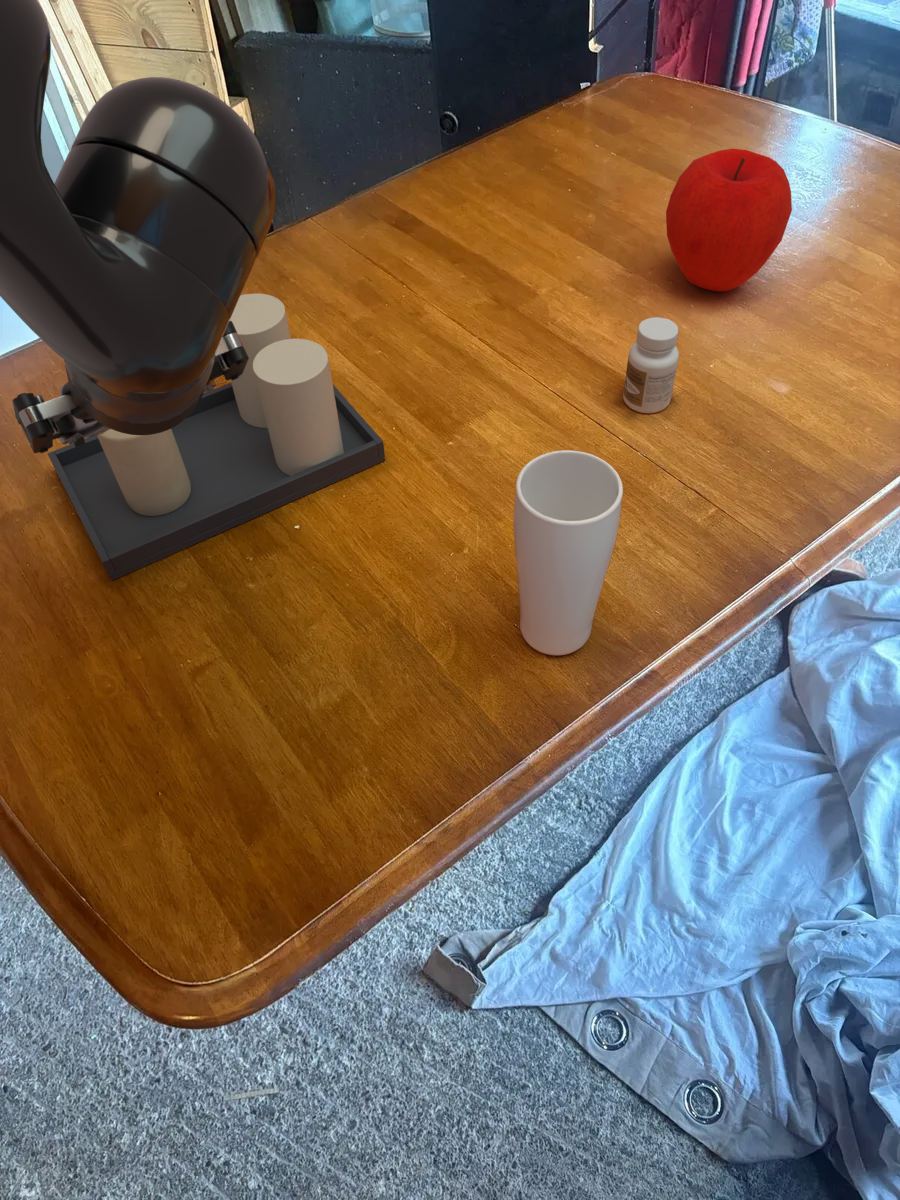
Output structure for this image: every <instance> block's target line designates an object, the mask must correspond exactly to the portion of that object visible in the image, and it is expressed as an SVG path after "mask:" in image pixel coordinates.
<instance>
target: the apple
mask: <svg viewBox="0 0 900 1200" xmlns="http://www.w3.org/2000/svg"><path fill="white" fill-rule="evenodd" d="M792 202H793V201H792V189H791V185H790V181H789V179H788V176H787V174H786V172H785V169H784V168H783V167H782V166H781V165H780V164H779V163H778V162H777V161H776V160H775V159H773V158H771V157H769V156H766V155H763V154H760V153H757V152H754V151H751V150H748V149H742V148H741V149H740V148H727V149H726V148H725V149H721V150H717V151H714V152H711V153H708V154H705V155H702V156H700V157H698V158H695V159H693V160H692V161H691V162H690V164H689V165H688V166H687V167H686V168H685V170H683V172H682V173H681V174H680V175H679V176H678V179H677V181H676V183H675V185H674V187H673V190H672V192H671V194H670V196H669V200H668V204H667V207H666V210H665V211H666V212H665V218H666V219H665V223H666V225H665V226H666V237H667V240H668V244H669V247H670V250H671V253H672V254H673V257H674V259H675V261H676V263H677V265H678V267H679V270H680V271H681V273H682V274H683V275H684V277H685V278H686V280H687V281H689V282H690V283H691V284H693V285H695V286H697V287H699V288H701V289H704V290H708V291H711V292H712V291H713V292H729V291H731V290H733V289H735V288H738V287H740V286H742V285H743V284H745V282H747V281H749V280H750V279H751V278H752V277H753V276H755V275H756V274H757V273H758V272H759V271H760V270H761V269H762V268H763V267H764V265H765V264H766V263H767V262H768V260H769V259H770V258H771V256H772V255H773V253H774V252H775V250H776V249H777V248H778V246H779V245H780V244H781V242H782V241H783V237H784V235H785V232H786V229H787V226H788V223H789V220H790V217H791V214H792V212H793V205H792Z"/></svg>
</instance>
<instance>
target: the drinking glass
mask: <svg viewBox="0 0 900 1200" xmlns="http://www.w3.org/2000/svg"><path fill="white" fill-rule="evenodd" d="M623 494H624V486H623V481H622V479H621V476H620V475H619V473H618V472H617V471H616V469H615V468H614V467H613V466H612V465H611V464H610V463H608V462H607V461H605V460H604V459H603V458H601V457H598V456H597V455H595V454H592V453H588V452H585V451H581V450H580V451H579V450H574V449H573V450H570V449H569V450H568V449H564V450H562V449H561V450H554V451H549V452H546V453H543V454H540V455H538V456H536V457H534V458H533V459H531V460H530V461H528V462H527V463H526V464H525V465H523V467H522V468H521V470H520V471H519V473H518V475H517V477H516V482H515V491H514V500H513V501H514V502H513V515H512V516H513V519H512V521H513V522H512V523H513V526H512V527H513V529H512V531H513V542H514V543H513V544H514V545H513V546H514V555H515V567H516V577H517V590H518V599H519V600H518V601H519V629H520V633H521V635H522V638H523V639H524V640H525V642H526V643H527V644H528V645H529V646H530V647H531V648H532V649H534V650H535V651H537V652H539V653H541V654H545V655H548V656H566V655H569V654H572V653H575V652H576V651H578V650H580V649H581V648H582V647H583V646H584V645H585V644H586V643H587V642H588V640H589V639H590V636H591V634H592V629H593V624H594V618H595V614H596V610H597V607H598V604H599V601H600V596H601V594H602V590H603V587H604V583H605V580H606V577H607V573H608V569H609V566H610V563H611V559H612V556H613V554H614V549H615V546H616V542H617V538H618V532H619V528H620V523H621V514H622V505H623Z"/></svg>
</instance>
